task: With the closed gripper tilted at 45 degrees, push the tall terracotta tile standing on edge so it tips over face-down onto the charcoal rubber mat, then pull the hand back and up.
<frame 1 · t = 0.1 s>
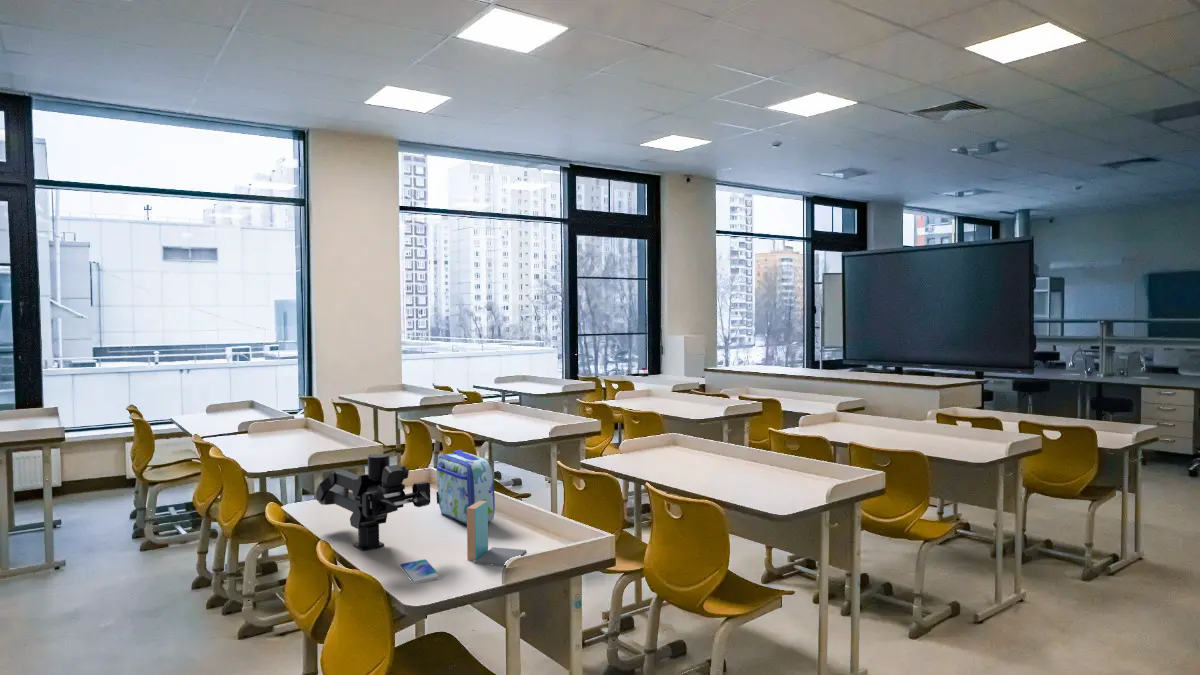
hand: (413, 505, 190), 17 cm above the table, tool horizontal, fingers open, 9 cm apart
smartphone: (419, 574, 189), on the table
glazed tile: (478, 555, 201), on the table
rubber mat: (501, 557, 199), on the table
lunch box: (464, 518, 237), on the table
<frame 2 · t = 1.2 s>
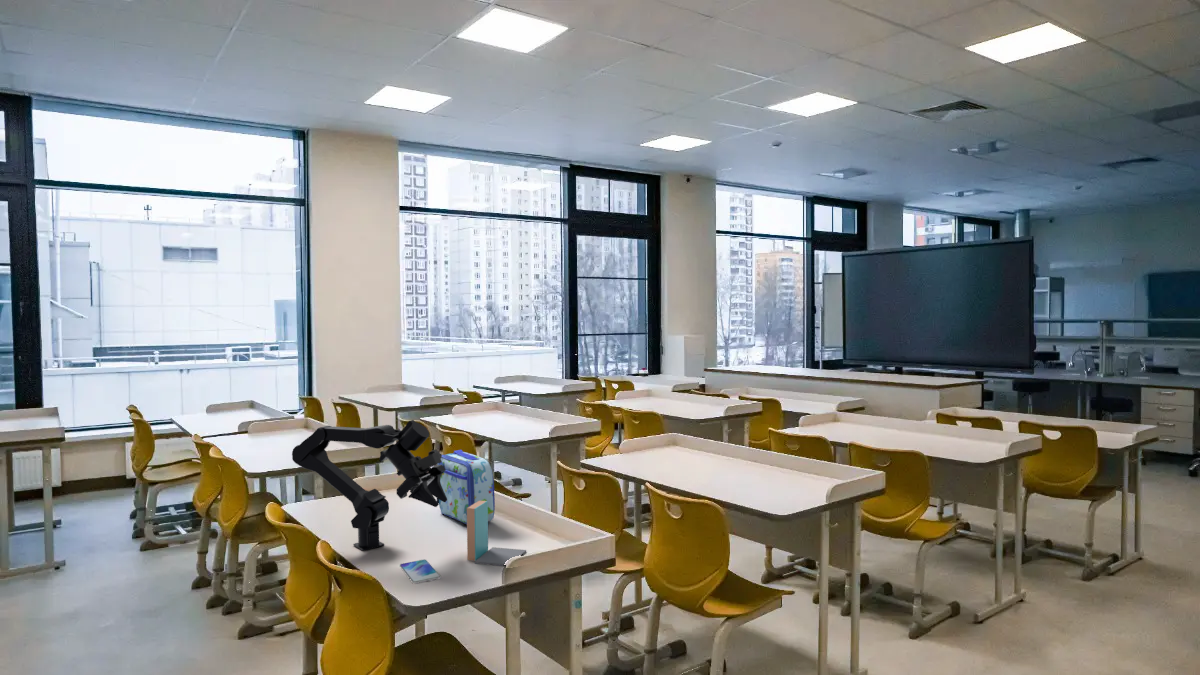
hand: (441, 503, 203), 14 cm above the table, tool tilted 45°, fingers open, 5 cm apart
nothing on the table moved.
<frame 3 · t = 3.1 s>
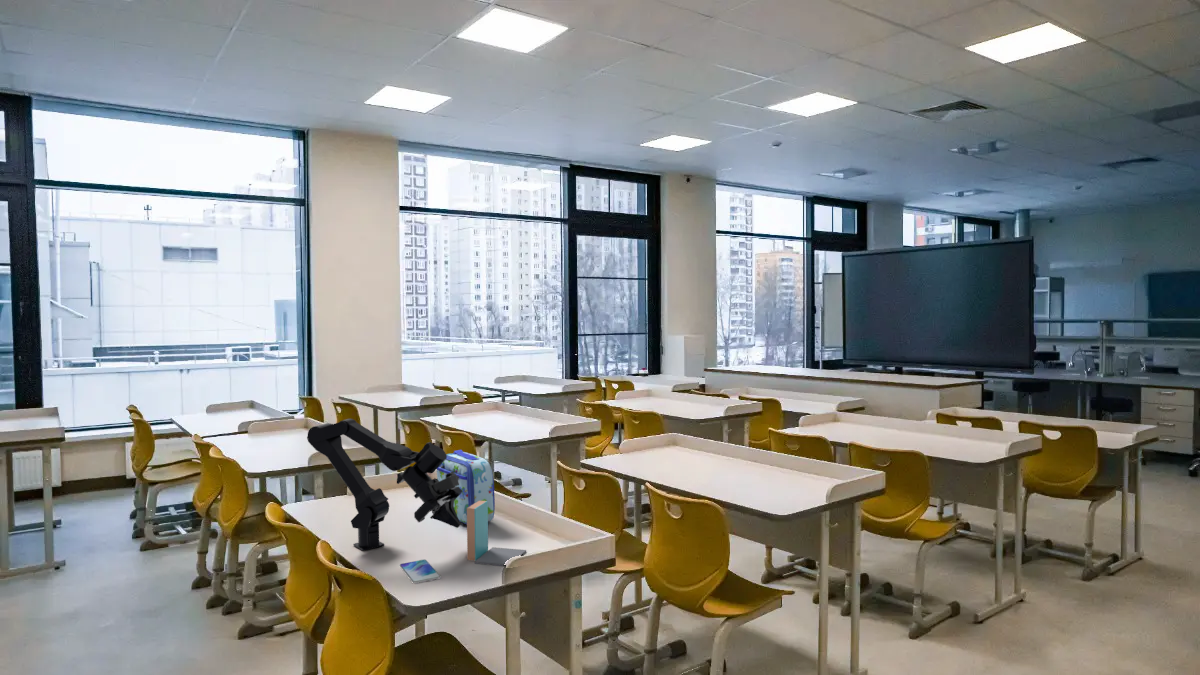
hand: (459, 526, 202), 8 cm above the table, tool tilted 45°, fingers closed
nothing on the table moved.
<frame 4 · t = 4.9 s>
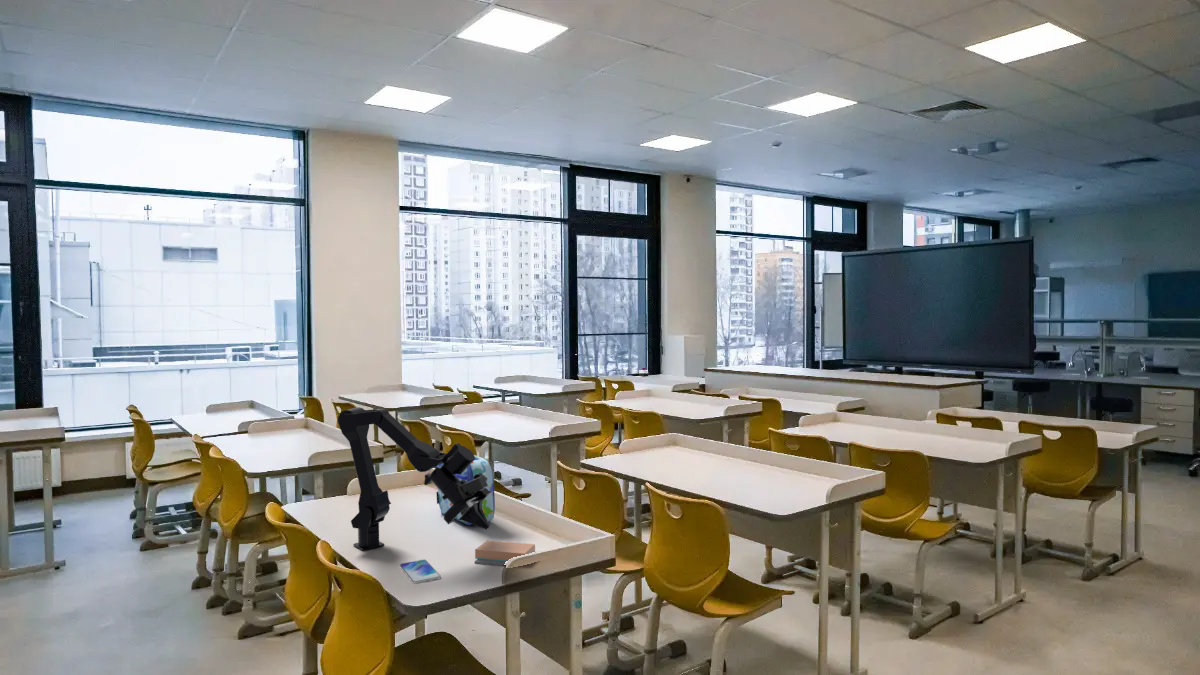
hand: (488, 528, 200), 8 cm above the table, tool tilted 45°, fingers closed
glazed tile: (481, 549, 200), point 2 cm above the table, tilted 90°, touching rubber mat
everything else where it was.
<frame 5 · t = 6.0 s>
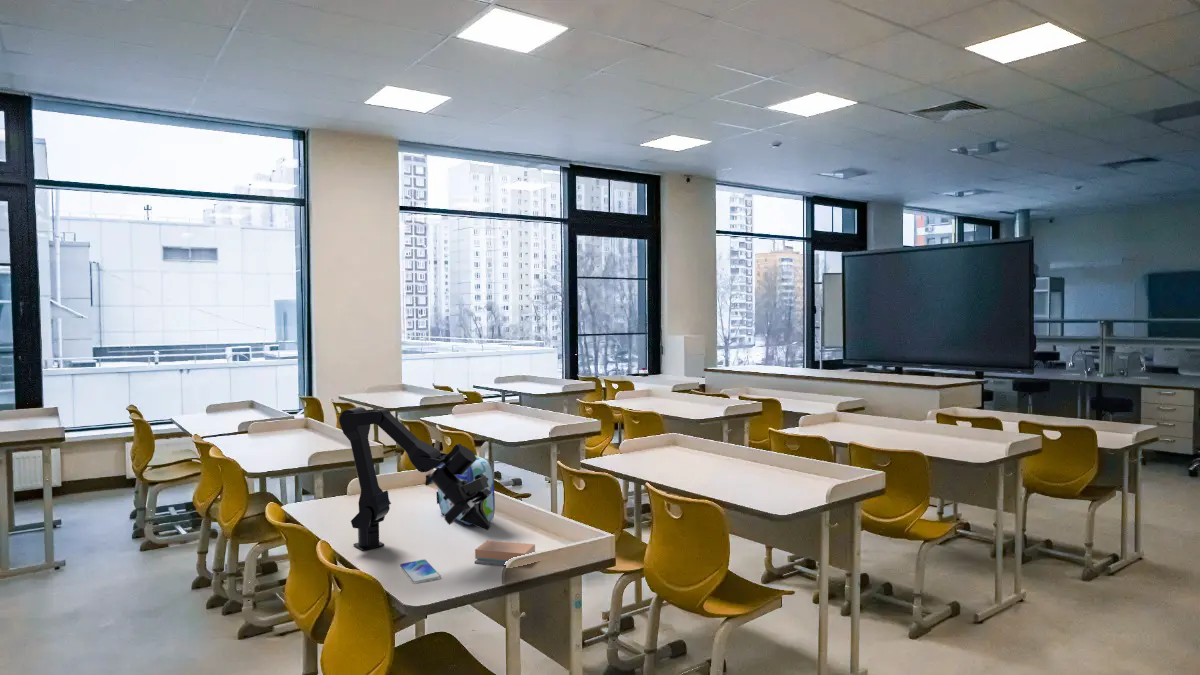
hand: (489, 528, 200), 8 cm above the table, tool tilted 45°, fingers closed
nothing on the table moved.
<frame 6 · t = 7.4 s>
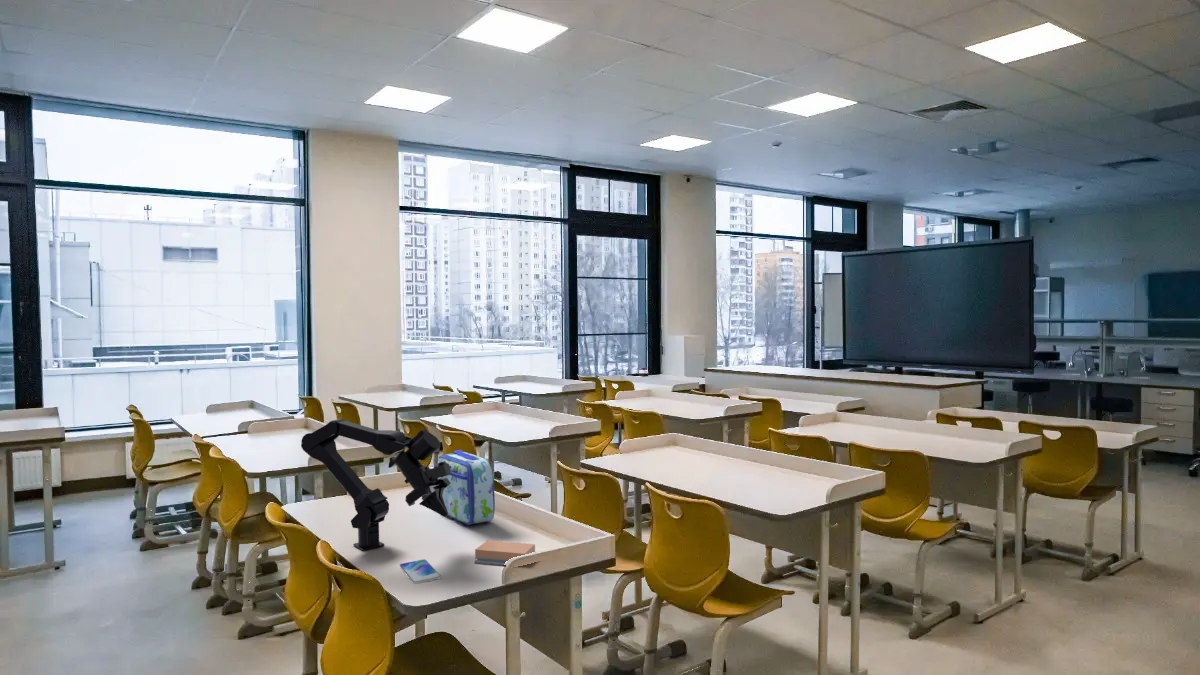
hand: (446, 515, 202), 11 cm above the table, tool tilted 40°, fingers closed
nothing on the table moved.
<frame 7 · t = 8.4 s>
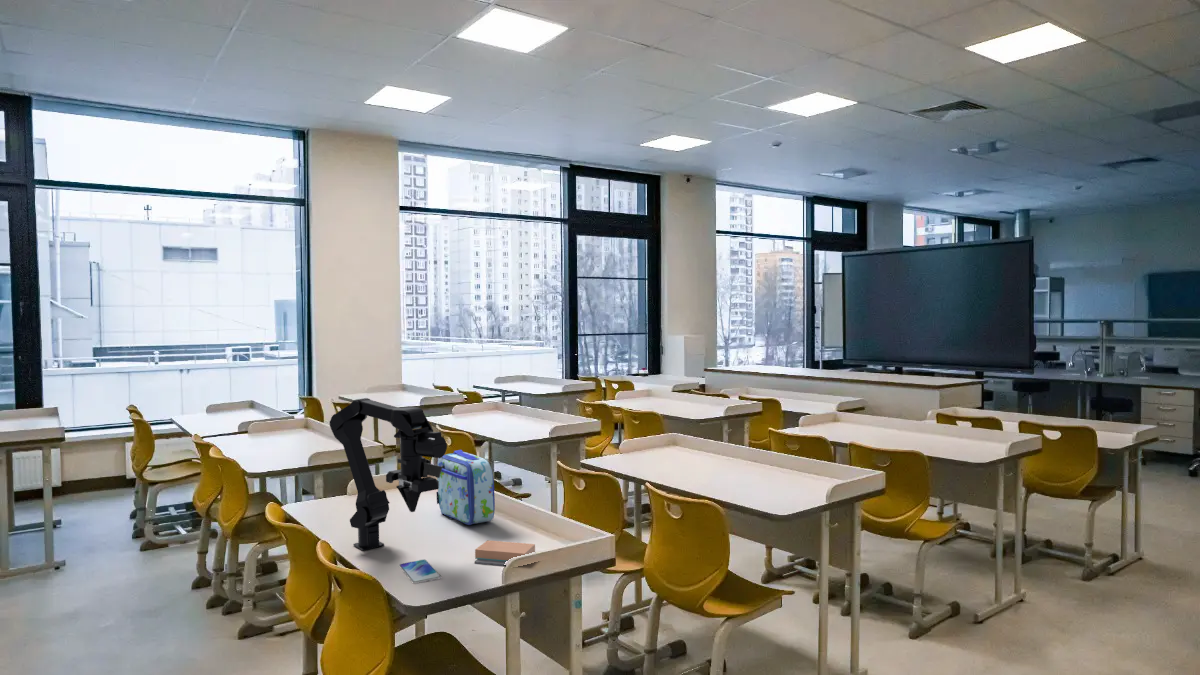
hand: (412, 511, 201), 12 cm above the table, tool pointing down, fingers closed
nothing on the table moved.
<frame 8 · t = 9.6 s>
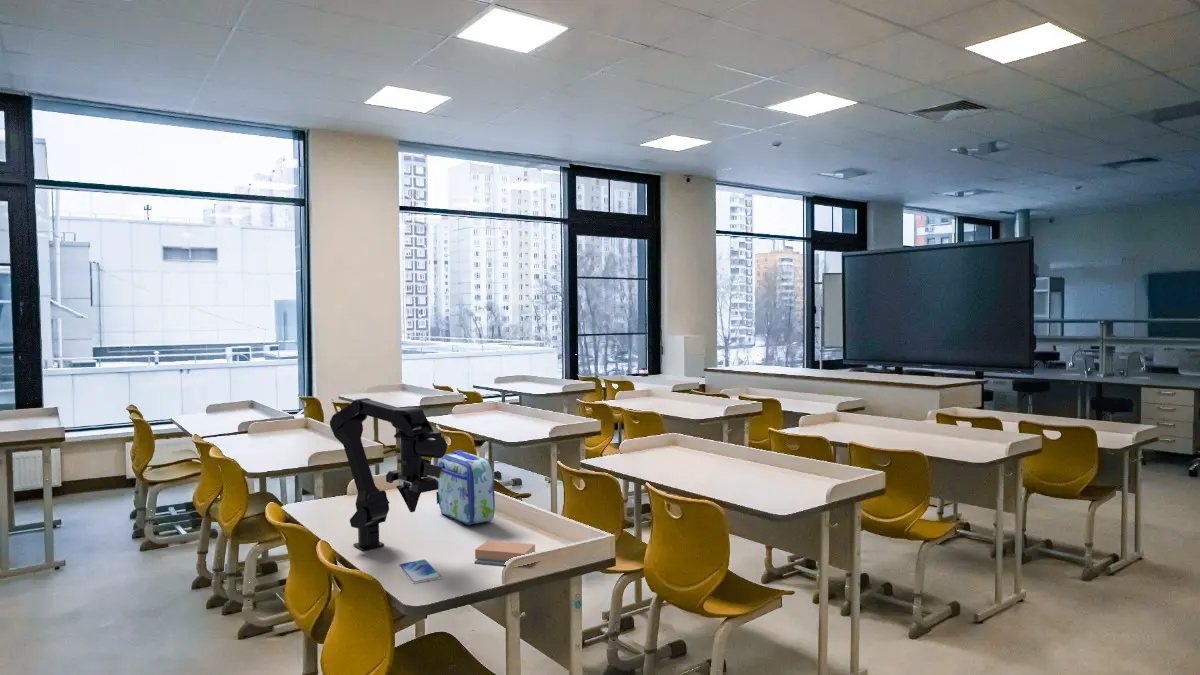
hand: (412, 511, 201), 12 cm above the table, tool pointing down, fingers closed
nothing on the table moved.
at the end: glazed tile tilted 90°; glazed tile touching rubber mat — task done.
